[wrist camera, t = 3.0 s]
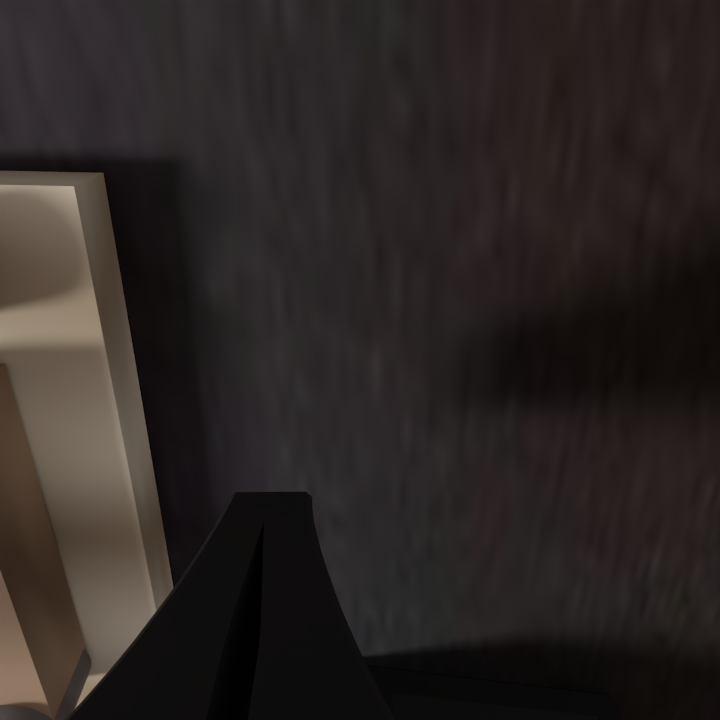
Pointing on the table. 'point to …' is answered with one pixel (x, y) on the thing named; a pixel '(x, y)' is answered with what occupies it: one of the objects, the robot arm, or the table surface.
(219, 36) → the table surface
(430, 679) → the digital camera
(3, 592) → the folding leg
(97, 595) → the stool seat
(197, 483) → the table surface
